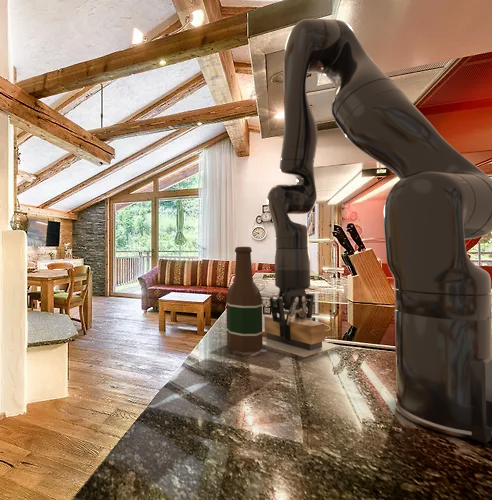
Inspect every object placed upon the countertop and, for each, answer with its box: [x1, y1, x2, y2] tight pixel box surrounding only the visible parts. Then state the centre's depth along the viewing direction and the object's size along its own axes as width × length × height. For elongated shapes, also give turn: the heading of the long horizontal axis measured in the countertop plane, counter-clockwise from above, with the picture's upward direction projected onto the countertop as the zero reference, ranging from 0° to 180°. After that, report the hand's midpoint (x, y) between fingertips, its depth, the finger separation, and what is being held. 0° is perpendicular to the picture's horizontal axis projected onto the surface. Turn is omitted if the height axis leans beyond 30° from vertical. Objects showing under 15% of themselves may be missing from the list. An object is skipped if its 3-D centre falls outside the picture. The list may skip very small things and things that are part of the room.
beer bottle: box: [226, 246, 264, 353], centre depth 69 cm, size 8×8×24 cm
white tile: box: [263, 336, 340, 358], centre depth 71 cm, size 14×14×1 cm
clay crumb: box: [262, 328, 267, 337], centre depth 78 cm, size 4×4×1 cm
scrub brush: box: [263, 313, 326, 351], centre depth 71 cm, size 12×5×6 cm, turn 30°
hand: (293, 338), depth 71 cm, fingers closed on scrub brush, 5 cm apart
